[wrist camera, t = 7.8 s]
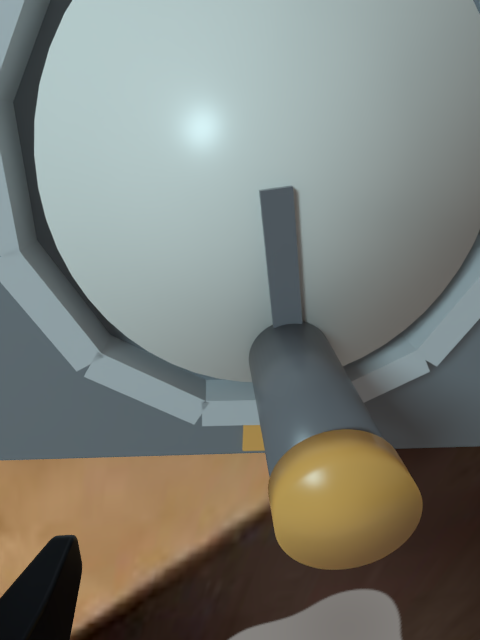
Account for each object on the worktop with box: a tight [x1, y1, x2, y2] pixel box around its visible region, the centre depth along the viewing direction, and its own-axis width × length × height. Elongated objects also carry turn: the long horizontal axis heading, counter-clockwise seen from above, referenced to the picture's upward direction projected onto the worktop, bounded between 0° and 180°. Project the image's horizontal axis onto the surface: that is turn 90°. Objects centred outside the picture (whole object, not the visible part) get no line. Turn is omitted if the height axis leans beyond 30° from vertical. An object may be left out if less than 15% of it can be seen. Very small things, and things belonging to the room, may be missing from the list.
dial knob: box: [34, 0, 480, 570], centre depth 10 cm, size 15×14×8 cm
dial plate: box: [0, 0, 480, 460], centre depth 14 cm, size 24×24×3 cm
